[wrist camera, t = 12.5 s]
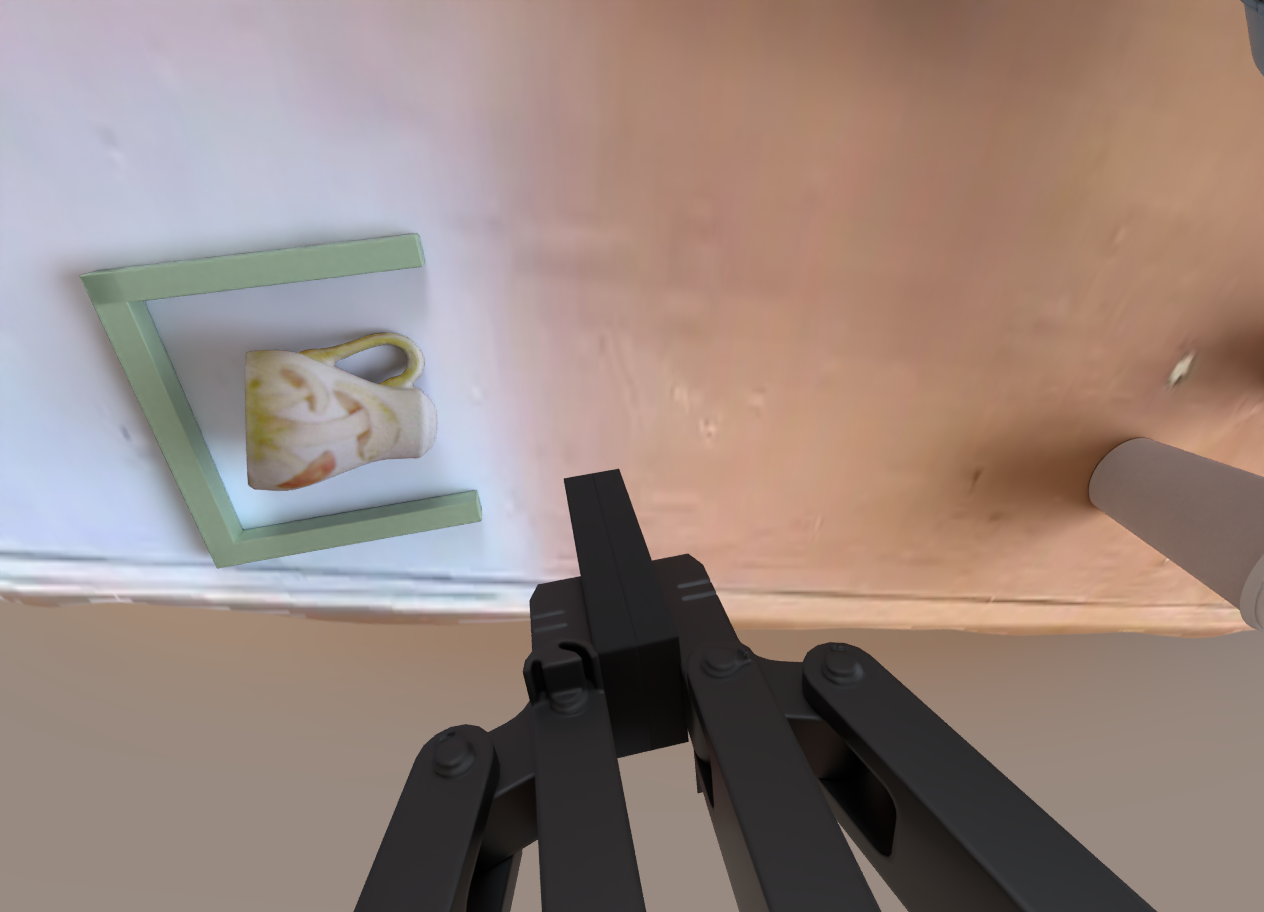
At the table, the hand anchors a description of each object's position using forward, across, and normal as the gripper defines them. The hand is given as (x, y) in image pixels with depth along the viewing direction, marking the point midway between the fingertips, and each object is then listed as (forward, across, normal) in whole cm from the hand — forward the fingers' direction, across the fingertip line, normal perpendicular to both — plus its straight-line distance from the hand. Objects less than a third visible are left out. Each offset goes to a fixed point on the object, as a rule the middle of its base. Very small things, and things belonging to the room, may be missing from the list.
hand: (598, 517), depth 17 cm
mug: (+22, -12, -2) cm, 25 cm away
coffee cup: (+22, +43, -19) cm, 52 cm away
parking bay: (+22, -13, -3) cm, 25 cm away
